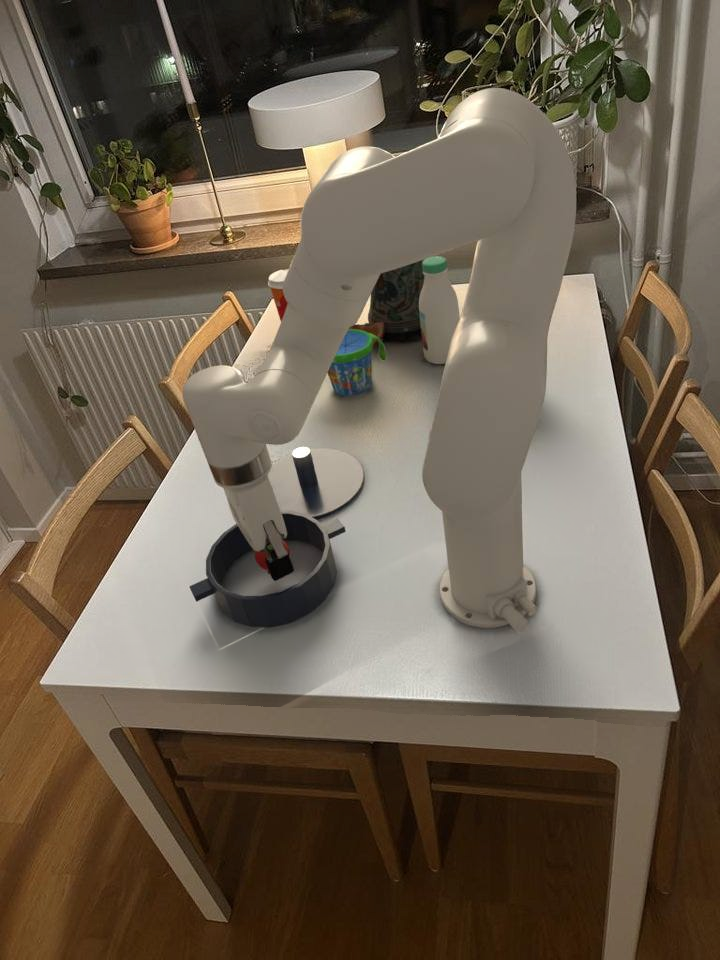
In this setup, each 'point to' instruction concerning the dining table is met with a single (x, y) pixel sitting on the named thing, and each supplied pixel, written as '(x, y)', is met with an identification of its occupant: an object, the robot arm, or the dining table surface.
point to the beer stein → (398, 303)
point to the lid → (316, 481)
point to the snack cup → (354, 363)
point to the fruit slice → (371, 329)
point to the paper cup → (278, 290)
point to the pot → (279, 604)
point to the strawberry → (261, 556)
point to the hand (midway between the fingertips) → (275, 563)
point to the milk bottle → (437, 310)
